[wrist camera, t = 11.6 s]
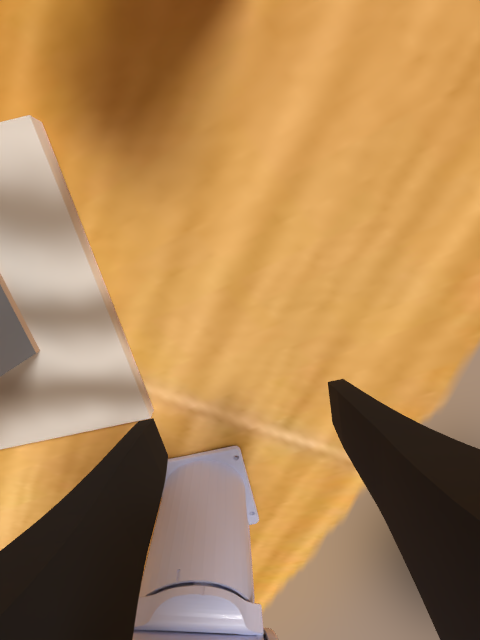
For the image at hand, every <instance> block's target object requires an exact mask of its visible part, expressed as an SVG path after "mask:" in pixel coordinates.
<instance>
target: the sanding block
mask: <svg viewBox="0 0 480 640" xmlns="http://www.w3.org/2000/svg"><path fill="white" fill-rule="evenodd" d="M39 351H40V349H39V347H38V346H37V344H36V342H35V340H34V338H33V336H32V334H31V332H30V330H29V328H28V326H27V324H26V322H25V320H24V318H23V316H22V314H21V312H20V311H19V309H18V307H17V305H16V303H15V301H14V299H13V297H12V295H11V293H10V291H9V289H8V287H7V285H6V283H5V281H4V279H3V277H2V276H1V274H0V376H2V375H4V374H5V373H7V372H8V371H10V370H11V369H13V368H14V367H16V366H17V365H19V364H20V363H22V362H24V361H25V360H27V359H28V358H30V357H31V356H33V355H34V354H36V353H37V352H39Z"/></svg>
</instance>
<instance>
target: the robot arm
mask: <svg viewBox="0 0 480 640" xmlns="http://www.w3.org/2000/svg"><path fill="white" fill-rule="evenodd" d="M328 388H329V396H330V405H331V413H332V422H333V425H334V427H335V430H336V432H337V434H338V437H339V439H340V441H341V443H342V445H343V448H344V449H345V451H346V453H347V455H348V456H349V458H350V460H351V461H352V463H353V465H354V467H355V468H356V470H357V472H358V473H359V475H360V477H361V478H362V480H363V482H364V484H365V485H366V487H367V489H368V490H369V492H370V494H371V495H372V497H373V499H374V501H375V502H376V504H377V506H378V507H379V509H380V511H381V513H382V515H383V517H384V519H385V521H386V523H387V525H388V527H389V529H390V531H391V533H392V535H393V537H394V540H395V542H396V544H397V546H398V548H399V550H400V552H401V554H402V556H403V559H404V561H405V563H406V565H407V567H408V569H409V571H410V574H411V576H412V578H413V580H414V582H415V584H416V586H417V589H418V591H419V593H420V595H421V598H422V599H423V602H424V604H425V606H426V609H427V611H428V613H429V615H430V618H431V619H432V622H433V624H434V626H435V629H436V631H437V633H438V635H439V638H440V640H480V449H477V448H475V447H472V446H470V445H467V444H465V443H462V442H460V441H457V440H455V439H452V438H450V437H448V436H446V435H443V434H441V433H439V432H436V431H434V430H432V429H429V428H428V427H426V426H423V425H422V424H419V423H417V422H416V421H414V420H412V419H410V418H408V417H406V416H404V415H402V414H400V413H398V412H397V411H395V410H393V409H391V408H389V407H388V406H386V405H384V404H382V403H381V402H379V401H377V400H376V399H374V398H372V397H371V396H369V395H368V394H366V393H364V392H363V391H361V390H360V389H358V388H356V387H355V386H353V385H352V384H350V383H349V382H347V381H345V380H344V379H341V380H336V381H331V382H328ZM235 456H237V457H235ZM161 497H162V500H161ZM160 501H161V504H160ZM159 504H160V508H159ZM158 508H159V513H158V517H157V521H156V525H155V529H154V533H153V537H152V541H151V545H150V549H149V554H148V558H147V562H146V566H145V570H144V565H145V560H146V556H147V551H148V547H149V543H150V539H151V535H152V531H153V528H154V524H155V520H156V516H157V512H158ZM258 521H259V516H258V512H257V508H256V505H255V501H254V497H253V494H252V490H251V486H250V483H249V479H248V475H247V472H246V468H245V464H244V461H243V457H242V453H241V450H240V448H239V447H238V446H231V447H226V448H221V449H216V450H211V451H206V452H201V453H196V454H191V455H187V456H182V457H177V458H172V459H168V454H167V452H166V449H165V447H164V444H163V442H162V439H161V437H160V434H159V432H158V429H157V427H156V424H155V422H154V419H148V420H143V421H139V422H138V423H137V424H136V425H135V426H134V427H133V428H132V429H131V430H130V431H129V432H128V433H127V434H126V435H125V436H124V437H123V438H122V439H121V440H120V441H119V442H118V444H117V445H116V446H115V447H114V448H113V449H112V450H111V451H110V452H109V453H108V454H107V455H106V456H105V457H104V459H103V460H102V461H101V462H100V463H99V464H98V465H97V466H96V467H95V468H94V469H93V470H92V471H91V472H90V473H89V474H88V475H87V476H86V477H85V478H84V479H83V480H82V481H81V482H80V483H79V484H78V485H77V486H76V487H75V488H74V489H73V490H72V491H71V492H70V493H69V494H68V495H66V496H65V497H64V498H63V499H62V500H61V501H60V502H59V503H58V504H57V505H55V506H54V507H53V508H52V509H51V510H50V511H49V512H48V513H46V514H45V515H44V516H43V517H42V518H41V519H39V520H38V521H37V522H36V523H35V524H33V525H32V526H31V527H30V528H28V529H27V530H26V531H25V532H23V533H22V534H21V535H20V536H19V537H17V538H16V539H15V540H14V541H12V542H11V543H10V544H9V545H7V546H6V547H5V548H4V549H2V550H1V551H0V640H278V638H277V636H276V634H275V632H274V631H273V630H272V629H269V628H263V621H262V609H261V605H260V604H257V603H254V586H253V572H252V558H251V544H250V531H249V525H251V524H256V523H257V522H258ZM143 570H144V574H143ZM142 576H143V578H142Z"/></svg>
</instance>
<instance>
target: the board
mask: <svg viewBox="0 0 480 640" xmlns="http://www.w3.org/2000/svg"><path fill="white" fill-rule="evenodd" d="M0 274H1V276H2V277H3V279H4V281H5V283H6V285H7V287H8V289H9V291H10V293H11V295H12V297H13V299H14V301H15V303H16V305H17V307H18V309H19V311H20V312H21V314H22V316H23V318H24V320H25V322H26V324H27V326H28V328H29V330H30V332H31V334H32V336H33V338H34V340H35V342H36V344H37V346H38V347H39V349H40V351H39V352H37V353H36V354H34V355H33V356H31V357H30V358H28V359H27V360H25V361H24V362H22V363H20V364H19V365H17V366H16V367H14V368H13V369H11V370H10V371H8V372H7V373H5V374H4V375H2V376H0V449H5V448H10V447H14V446H19V445H24V444H29V443H34V442H39V441H43V440H48V439H53V438H58V437H63V436H67V435H72V434H77V433H82V432H87V431H92V430H96V429H101V428H106V427H111V426H116V425H120V424H125V423H130V422H135V421H140V420H145V419H149V418H151V416H152V414H153V411H154V409H153V406H152V404H151V401H150V398H149V396H148V393H147V391H146V388H145V386H144V383H143V380H142V378H141V375H140V373H139V370H138V368H137V365H136V362H135V360H134V357H133V355H132V352H131V350H130V347H129V344H128V342H127V339H126V337H125V334H124V332H123V329H122V326H121V324H120V321H119V319H118V316H117V314H116V311H115V308H114V306H113V303H112V301H111V298H110V296H109V293H108V290H107V288H106V285H105V283H104V280H103V278H102V275H101V273H100V270H99V267H98V265H97V262H96V260H95V257H94V255H93V252H92V249H91V247H90V244H89V242H88V239H87V237H86V234H85V231H84V229H83V226H82V224H81V221H80V219H79V216H78V213H77V211H76V208H75V206H74V203H73V201H72V198H71V195H70V193H69V190H68V188H67V185H66V183H65V180H64V177H63V175H62V172H61V170H60V167H59V165H58V162H57V159H56V157H55V154H54V152H53V149H52V147H51V144H50V141H49V139H48V136H47V134H46V131H45V129H44V126H43V124H42V122H41V121H39V120H37V119H35V118H34V117H32V116H30V115H28V116H24V117H20V118H15V119H11V120H7V121H3V122H0Z"/></svg>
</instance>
